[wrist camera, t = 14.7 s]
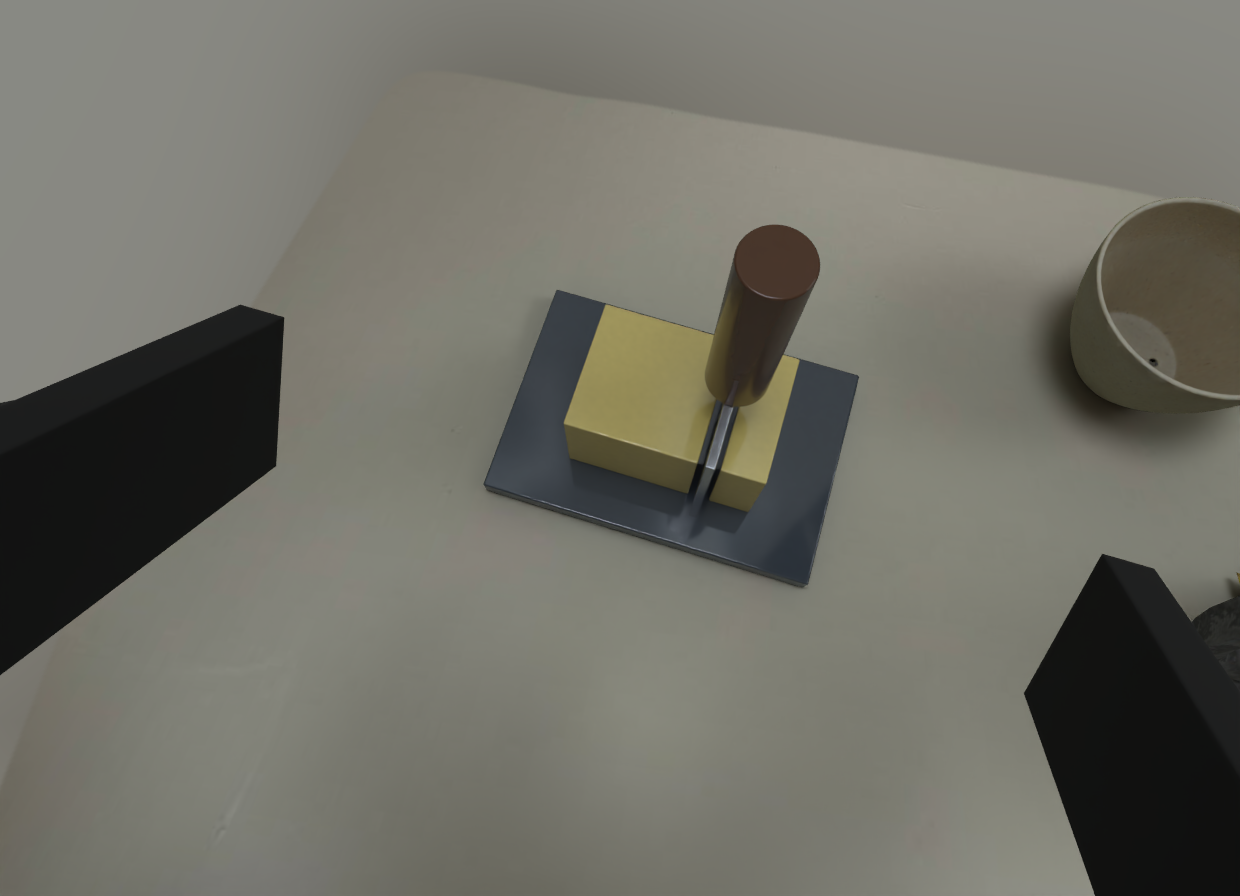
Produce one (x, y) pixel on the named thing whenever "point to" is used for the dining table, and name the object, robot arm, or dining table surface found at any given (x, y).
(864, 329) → the dining table surface
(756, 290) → the knife
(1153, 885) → the robot arm
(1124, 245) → the flower pot
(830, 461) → the butter dish
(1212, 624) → the mug
